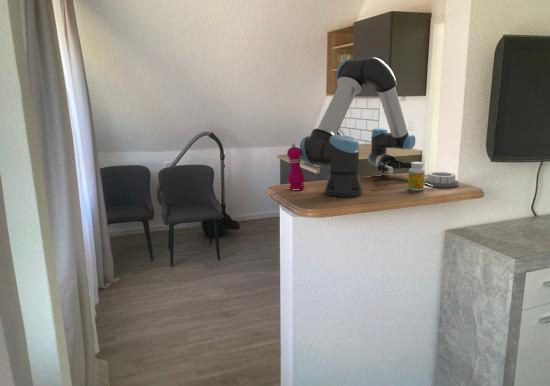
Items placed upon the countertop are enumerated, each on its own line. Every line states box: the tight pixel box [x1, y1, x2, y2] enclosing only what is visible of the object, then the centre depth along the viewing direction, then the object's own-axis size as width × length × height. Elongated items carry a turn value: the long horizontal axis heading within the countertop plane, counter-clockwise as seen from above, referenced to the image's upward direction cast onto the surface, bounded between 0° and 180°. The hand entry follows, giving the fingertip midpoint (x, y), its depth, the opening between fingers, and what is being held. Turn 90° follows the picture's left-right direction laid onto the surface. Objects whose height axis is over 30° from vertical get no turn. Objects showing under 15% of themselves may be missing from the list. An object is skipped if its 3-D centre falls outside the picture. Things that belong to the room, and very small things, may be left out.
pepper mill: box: [286, 143, 306, 190], centre depth 178 cm, size 7×7×20 cm
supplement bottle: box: [407, 161, 425, 191], centre depth 175 cm, size 6×6×11 cm
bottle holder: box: [424, 171, 459, 189], centre depth 183 cm, size 14×14×4 cm
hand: (406, 170), depth 184 cm, fingers open, 13 cm apart
